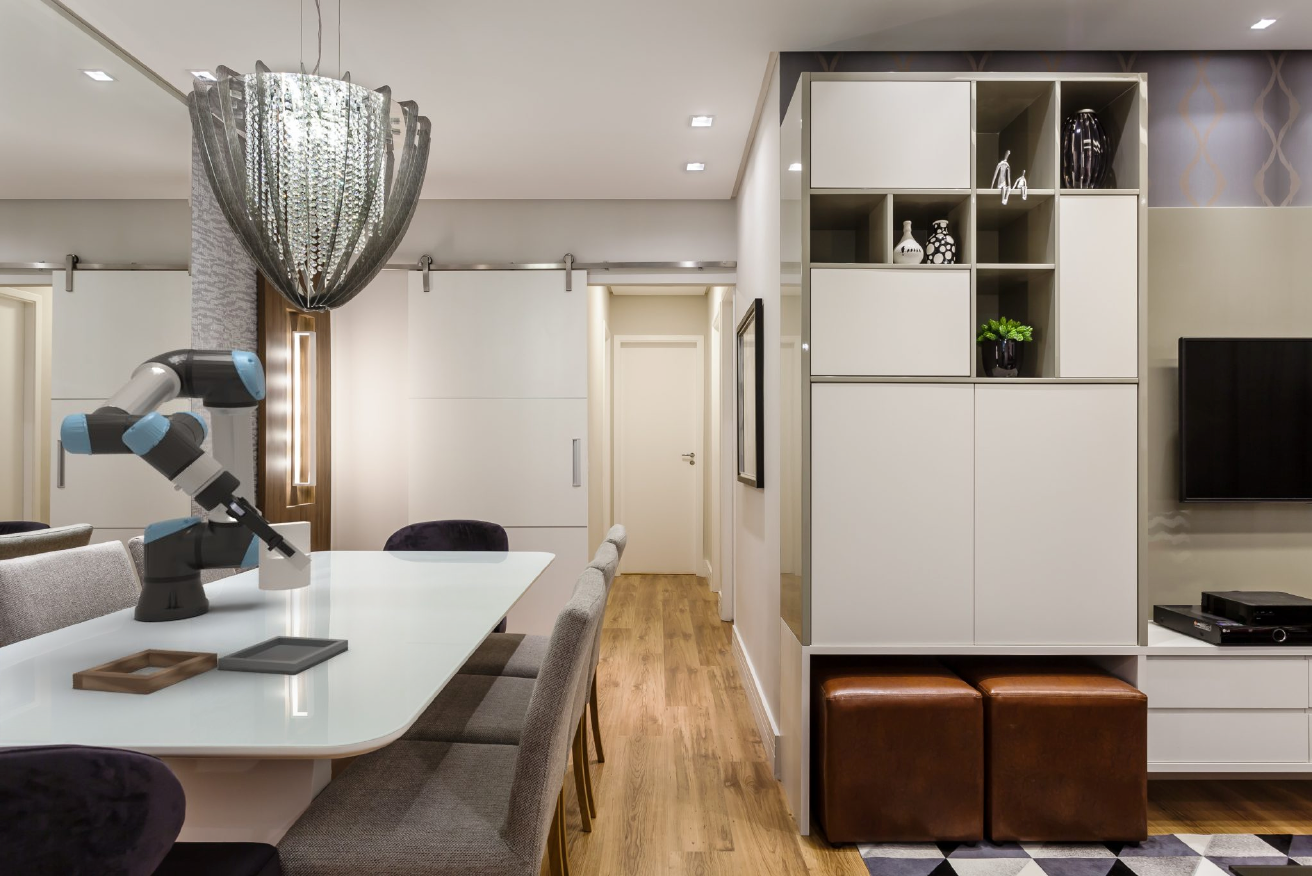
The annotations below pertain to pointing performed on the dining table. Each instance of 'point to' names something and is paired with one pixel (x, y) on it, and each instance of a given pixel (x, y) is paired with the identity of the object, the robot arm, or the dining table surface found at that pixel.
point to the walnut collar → (120, 679)
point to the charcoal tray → (283, 655)
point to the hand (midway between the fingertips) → (303, 561)
